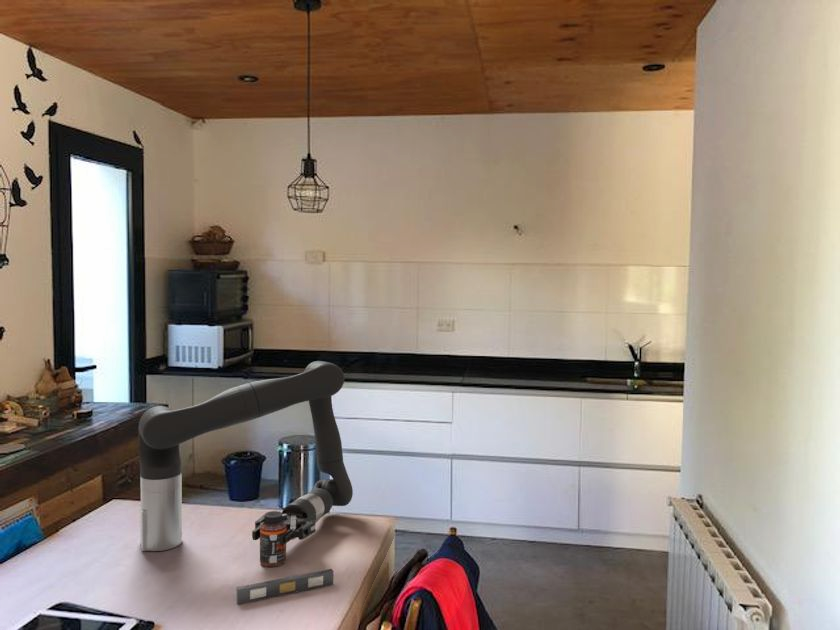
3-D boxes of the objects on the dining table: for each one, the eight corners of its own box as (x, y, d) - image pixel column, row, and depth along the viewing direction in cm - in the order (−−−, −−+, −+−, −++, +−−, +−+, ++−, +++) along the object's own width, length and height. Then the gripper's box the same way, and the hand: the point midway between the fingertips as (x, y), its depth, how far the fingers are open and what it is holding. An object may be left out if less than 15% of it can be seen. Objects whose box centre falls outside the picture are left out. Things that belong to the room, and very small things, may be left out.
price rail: (237, 605, 130) (237, 590, 130) (236, 601, 131) (236, 587, 131) (333, 585, 139) (334, 571, 139) (331, 582, 140) (331, 568, 140)
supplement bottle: (279, 569, 146) (280, 519, 145) (255, 566, 147) (255, 517, 146) (290, 558, 152) (290, 510, 151) (266, 555, 153) (266, 508, 152)
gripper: (278, 494, 165) (239, 517, 149) (329, 501, 160) (295, 526, 144) (278, 523, 165) (239, 549, 149) (329, 531, 160) (295, 559, 145)
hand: (267, 538), depth 147 cm, fingers open, 6 cm apart
